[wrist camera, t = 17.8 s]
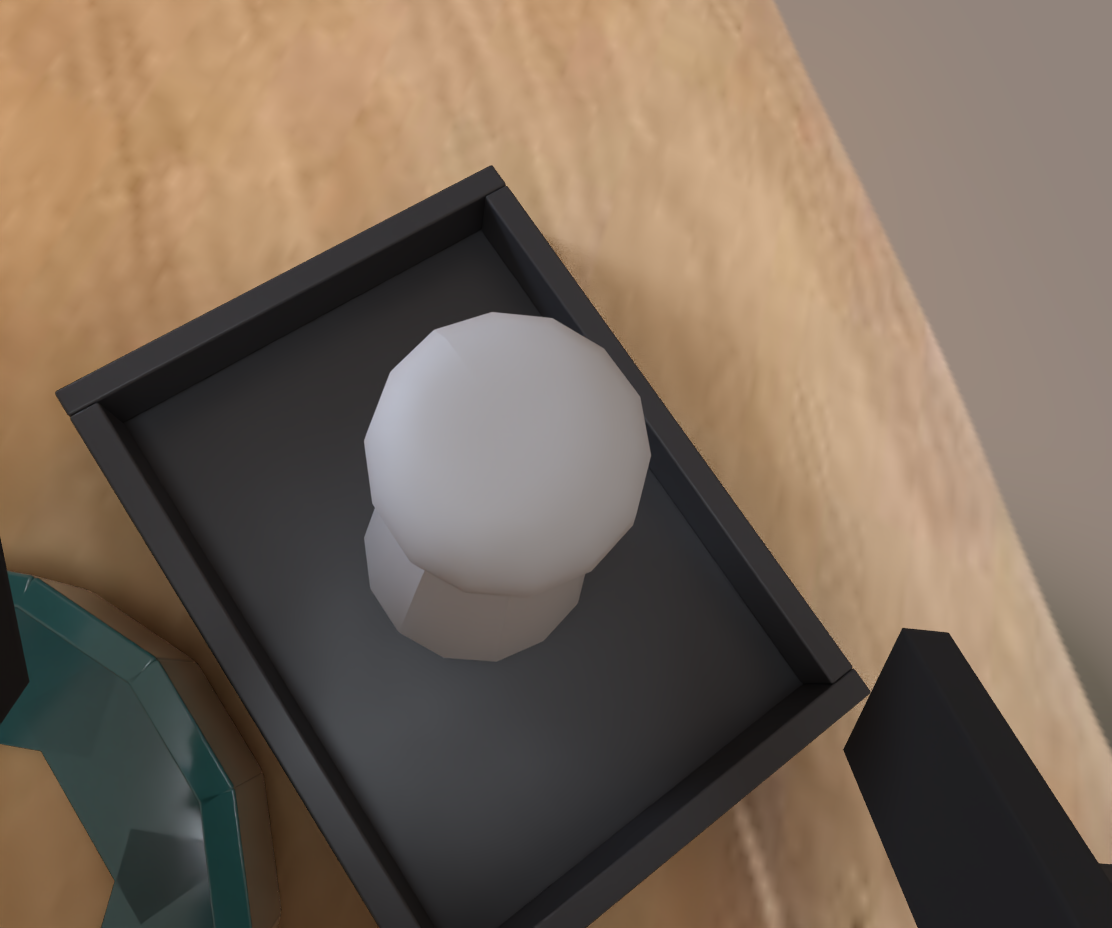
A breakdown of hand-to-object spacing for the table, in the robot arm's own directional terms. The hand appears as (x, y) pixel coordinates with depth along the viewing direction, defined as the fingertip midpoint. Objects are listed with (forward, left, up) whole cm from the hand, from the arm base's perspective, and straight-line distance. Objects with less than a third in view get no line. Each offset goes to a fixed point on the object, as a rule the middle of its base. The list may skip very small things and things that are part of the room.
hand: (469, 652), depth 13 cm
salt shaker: (-2, +2, -11) cm, 12 cm away
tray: (-2, +2, -12) cm, 12 cm away
